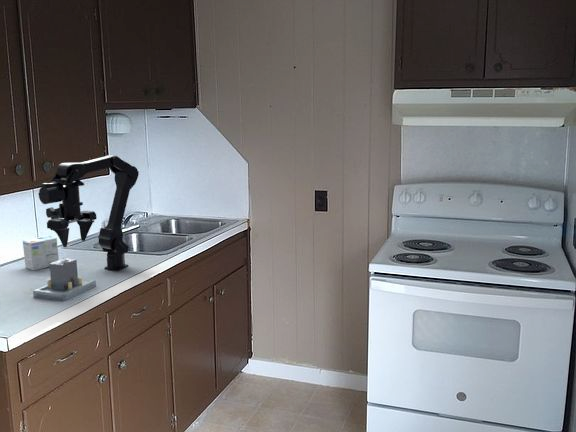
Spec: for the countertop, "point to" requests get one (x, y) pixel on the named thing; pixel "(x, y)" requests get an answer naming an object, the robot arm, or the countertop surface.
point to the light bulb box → (40, 252)
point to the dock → (62, 296)
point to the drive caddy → (63, 274)
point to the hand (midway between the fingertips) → (74, 243)
